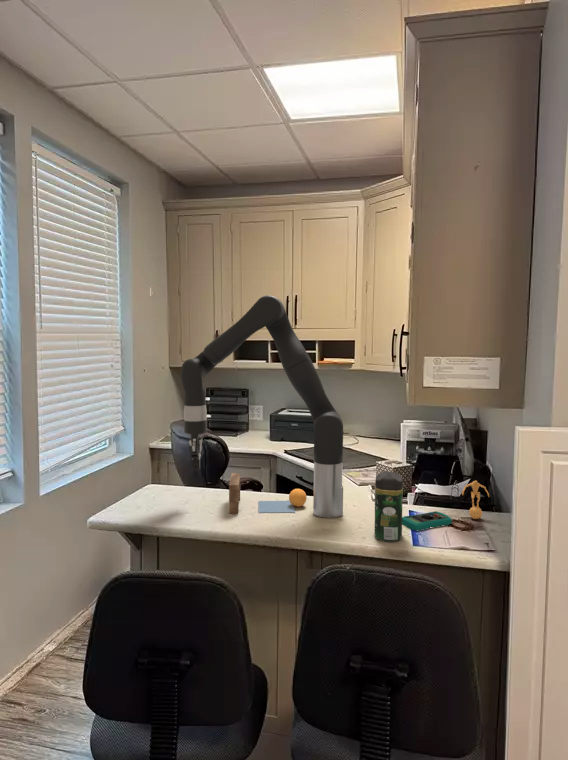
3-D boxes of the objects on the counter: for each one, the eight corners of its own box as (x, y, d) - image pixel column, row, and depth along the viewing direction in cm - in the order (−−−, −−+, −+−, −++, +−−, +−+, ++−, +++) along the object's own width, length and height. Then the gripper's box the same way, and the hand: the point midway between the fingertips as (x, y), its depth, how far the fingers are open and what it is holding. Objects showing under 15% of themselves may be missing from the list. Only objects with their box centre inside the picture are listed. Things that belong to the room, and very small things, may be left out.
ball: (308, 499, 179) (301, 483, 178) (310, 504, 173) (303, 488, 173) (292, 506, 179) (285, 490, 178) (293, 512, 173) (286, 496, 172)
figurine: (462, 520, 164) (464, 482, 163) (460, 513, 170) (461, 477, 169) (490, 521, 162) (491, 484, 161) (486, 515, 168) (488, 479, 167)
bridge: (240, 500, 182) (240, 473, 181) (238, 514, 167) (238, 485, 166) (231, 500, 182) (231, 473, 181) (229, 514, 167) (229, 485, 166)
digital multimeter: (453, 525, 160) (453, 516, 160) (415, 533, 154) (415, 523, 154) (437, 518, 167) (437, 509, 167) (399, 525, 160) (400, 515, 160)
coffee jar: (374, 529, 155) (376, 468, 154) (401, 531, 154) (403, 470, 152) (373, 541, 146) (374, 476, 144) (401, 544, 144) (403, 478, 143)
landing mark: (292, 501, 181) (292, 500, 181) (295, 512, 169) (295, 512, 169) (258, 501, 181) (258, 500, 181) (258, 512, 169) (258, 512, 169)
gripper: (204, 421, 165) (205, 474, 167) (208, 415, 178) (209, 465, 180) (180, 421, 165) (182, 475, 166) (186, 415, 178) (187, 465, 179)
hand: (196, 469), depth 173 cm, fingers closed
